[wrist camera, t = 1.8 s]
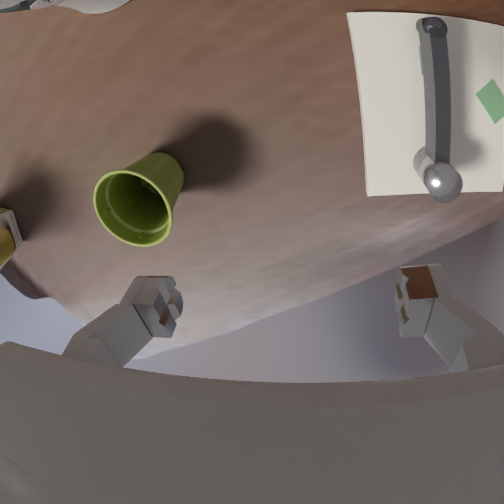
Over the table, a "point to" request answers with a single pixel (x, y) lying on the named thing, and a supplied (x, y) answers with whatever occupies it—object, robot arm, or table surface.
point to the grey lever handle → (436, 114)
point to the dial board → (413, 100)
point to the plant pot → (140, 199)
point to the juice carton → (8, 235)
